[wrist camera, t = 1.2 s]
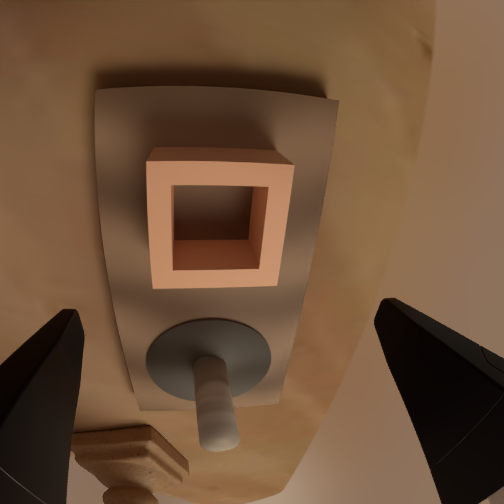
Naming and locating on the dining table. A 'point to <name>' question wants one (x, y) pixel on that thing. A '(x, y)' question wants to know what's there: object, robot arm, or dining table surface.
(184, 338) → the post board
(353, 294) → the dining table surface
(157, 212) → the collar
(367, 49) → the dining table surface
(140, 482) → the candle holder
